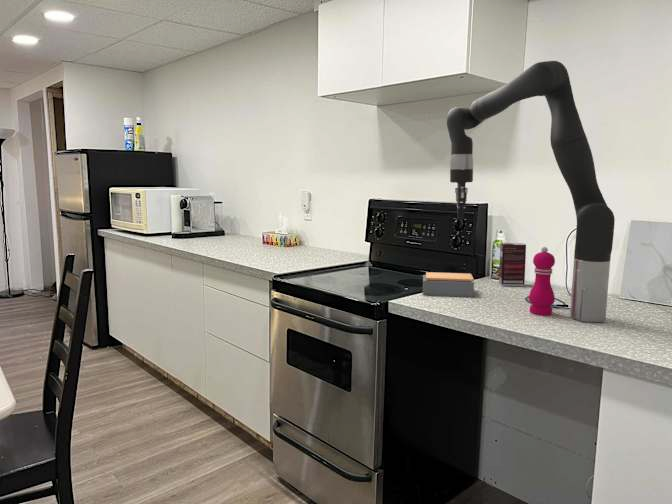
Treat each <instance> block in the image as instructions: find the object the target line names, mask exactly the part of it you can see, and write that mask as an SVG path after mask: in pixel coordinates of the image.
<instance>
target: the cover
mask: <svg viewBox="0 0 672 504" xmlns="http://www.w3.org/2000/svg"><path fill="white" fill-rule="evenodd" d="M425 275H426V280H448V281H472V282H474V281H475V278H474V277H473V275H472V273H470V272H467V273H466V272H437V271H435V272H434V271H430V272H429V271H426V272H425Z"/></svg>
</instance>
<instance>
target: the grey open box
mask: <svg viewBox="0 0 672 504" xmlns="http://www.w3.org/2000/svg"><path fill="white" fill-rule="evenodd" d="M474 288H475V282H474V281H472V282H466V281H448V280H426V274H423V275H422V296H434V297H435V296H439V297H463V298H467V297H469V298H474V291H475V289H474Z"/></svg>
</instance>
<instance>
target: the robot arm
mask: <svg viewBox="0 0 672 504" xmlns="http://www.w3.org/2000/svg"><path fill="white" fill-rule="evenodd" d="M570 79H571V78H570V76H569V71H568V70H567V68H566V65H564V64H563V63H562V62H560V61H558V60H548V61H547V60H546V61H539V62H536V63H534V64H533V65H531V66H530V67H528V68H526V69H525V70H524V71H523V72H522V73H520V74H518V76H516V77H515V78H513V79H512V80H510V81H509V82H507V83H506V84H504V85H502V86H501V87H499V88H497V89H494V90H492V91H490V92H489V93H486V94H484V95H483V96H480V97H479V98H477V99H475V100H474V101H473V102H472V103H471V105H470V107H458V106H455V107H452V108H451V109H450V110H449V111H448V113H447V116H446V128H447V131H448V134H449V140H450V142H451V148H450V163H449V166H450V167H449V169H450V170H449V174H450V175H449V182H450V183H453V184H454V183H456V184H457V187H455V188H454V193H455V202H456V207H457V215H456V216H457V219H458V220H462V221H463V220H465V209H466V205H467V204H466V202H467V201H468V200H467V199H468V197H467V196H468V191H469V190H468V187H466V184H467V183H472V182H473V181H474V156H473V153H474V152H473V151H474V150H473V149H474V148H473V147H474V145H473V144H474V143H473V139H472V137H471V136H468V135H467V134H466V131H467V130H471V129H474V128H476V127H479V125H480V124H481V123H483V122H484V121H485V120H487V119H491V118H492V117H495V116H497V115H498V114H500V113H502V112H503V111H505V110H506V109H508V108H509V107H510V106H512V105H513V104H515V103H517V102H520V101H523V100H526V99H531V98H535V97H545V99H546V103H547V105H548V108H549V111H550V116H551V125H550V146H551V149H552V153H553V155H554V158H555V161H556V164H557V166H558V168H559V170H560V173H561V176H562V178H563V179H564V181H565V183H566V185H567V187H568V189H569V191H570V195H571V199H572V201H573V206H574V211H575V219H576V231H575V243H574V254H573V271H572V283H571V294H570V295H571V296H570V297H571V298H570V309H569V310H570V311H569V312H570V313H569V317H571V318H572V319H575V320H577V321H580V322H586V323H605V322H606V319H607V304H608V294H609V293H608V291H609V278H610V270H611V269H610V267H611V257H612V253H613V243H614V231H615V215H614V212H613V210H612V209H611V208H610V207H609V206H608V204H607V203H606V200H605V198H604V196H603V194H602V191H601V190H600V189H601V188H600V187H599V184H598V183H599V182H598V179H597V175H596V168H595V161H594V157H593V154H592V149H591V146H590V143H589V141H588V137H587V135H586V132H585V130H584V127H583V123H582V121H581V118H580V114H579V112H578V108H577V106H576V103H575V99H574V94H573V88H572V83H571V80H570Z"/></svg>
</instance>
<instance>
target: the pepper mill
mask: <svg viewBox="0 0 672 504" xmlns="http://www.w3.org/2000/svg"><path fill="white" fill-rule="evenodd" d="M540 250H541V252H537V253H536V254H535V255H534V256H533V259H532V263H533V265H534V266H535V267H534V268H533V269H534V271H533V272H534V273H535V280H534V283H533V285H532V288H531V290H530V291H529V294H528V301H529V303H530V304H531V305H529V313H531V314H533V315H537V316H551V315H552V314H553V307H551V306H552V305H554V303H555V300H556V299H555V297H556V296H555V293H554V291H553V288H552V283H551V275H553V269H552V268H553V266H555V264H556V259H555V256H554V255H553V254H552V253H549V252H548V251H549V248H547V247H546V246H543V247H542V248H541V249H540Z"/></svg>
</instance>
